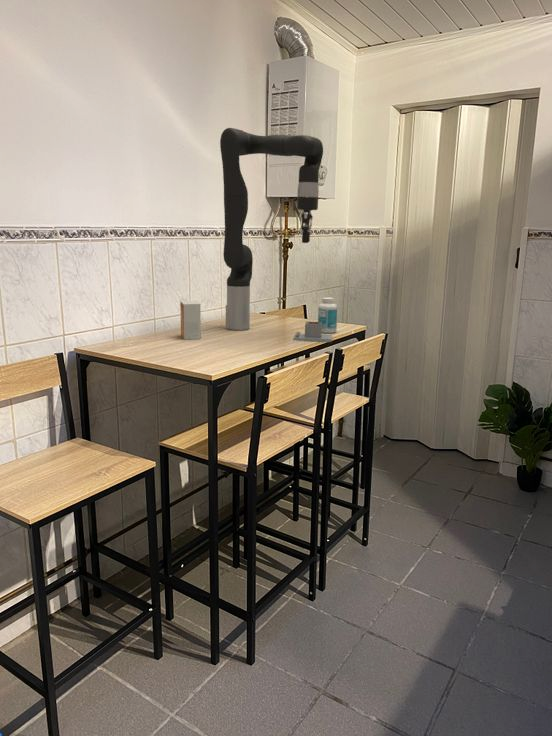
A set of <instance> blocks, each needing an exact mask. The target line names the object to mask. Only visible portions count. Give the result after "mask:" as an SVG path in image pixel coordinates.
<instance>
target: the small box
mask: <svg viewBox="0 0 552 736" xmlns="http://www.w3.org/2000/svg"><path fill="white" fill-rule="evenodd" d="M179 303H180V304H179V305H180V309H179V310H180V336H181V337H182V338H183V340H201V339H202V325H201V323H202V322H201V321H202V319H201V315H202V314H201V312H202V311H201V303H200V302H198V301H197V300H182V301H181V300H180V302H179Z"/></svg>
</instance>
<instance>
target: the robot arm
mask: <svg viewBox="0 0 552 736" xmlns="http://www.w3.org/2000/svg"><path fill="white" fill-rule="evenodd" d="M219 141H220V142H219V145H220V147H219V148H220V154H221V155H220V156H221V163H222V173H223V174H222V179H223V210H224V211H223V212H224V213H223V214H224V239H223V240H224V243H223V261H224V263H225V266H227V267H228V268H230V273H229V276H228V277H227V278H226V304H225V330H232V331H241V330H242V331H244V330H245V331H246V330H250V326H251V325H250V324H251V323H250V317H251V315H250V314H251V309H250V308H251V307H250V306H251V304H250V302H251V280H252V277H253V259H254V257H253V253H252V249H251V248H250V247H249V246H248V245H246V244H244V242H243V241H244V239H243V234H244V233H243V231H244V226H245V222H246V219H247V215H248V211H249V194H248V193H249V192H248V188H247V185H246V182H245V179H244V177H243V174H242V172H241V165H240V156H247V155H257V154H261V155H263V154H264V155H271V156H280V157H281V156H282V157H293V156H295V157H301V158H304V162H303V164H302V165H301V166H300V167H299V169H298V184H297V185H298V186H297V197H296V198H297V199H296V209H297V210H299V211H300V210H301V211H303V212H302V214H301V216H300V220H301V223H300V226H301V227H300V228H301V233H302V234H301V243H303V244H309V242H310V241H311V238H310V237H311V231H312V230H311V229H312V226H313V219H314V218H313V217H314V216H313V214H312V213H311V212H312V211H317V210H318V209H319V192H320V191H319V190H320V189H319V177H320V175H319V172H320V167H321V165H322V159H323V155H324V147H323V142H322V141H321V140H320V139H319V138H318V137H314V136H311V135H308V134H307V135H304V134H300V135H299V134H298V135H289V134H288V135H286V134H270V135H258V134H254V133H253V134H252V133H250V132H247V131H244V130H242V129H238V128H234V127H233V128H232V127H226V128H225V129H224V130H223V132H222V133H221V136H220V140H219Z"/></svg>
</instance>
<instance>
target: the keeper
mask: <svg viewBox="0 0 552 736" xmlns="http://www.w3.org/2000/svg"><path fill="white" fill-rule="evenodd" d="M293 340H299V342H301V341H300V340H304V341H303V342H318V343H319V342H321V343H323V342H324V343H332V342H333V335H332V334H324V333H323V334H322V335H321V338H305V333H301V332H300V331H296V333H294V336H293Z"/></svg>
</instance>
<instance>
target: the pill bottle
mask: <svg viewBox="0 0 552 736" xmlns="http://www.w3.org/2000/svg"><path fill="white" fill-rule="evenodd" d="M321 302H322V303H320V304H319V305H318V312H317V313H318V315H317V316H318V317H317V322H322V333H323V334H334V333H336V332H337V329H338V327H337V326H338V306H337V303H334V302H335V298H334V297H322V298H321Z"/></svg>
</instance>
